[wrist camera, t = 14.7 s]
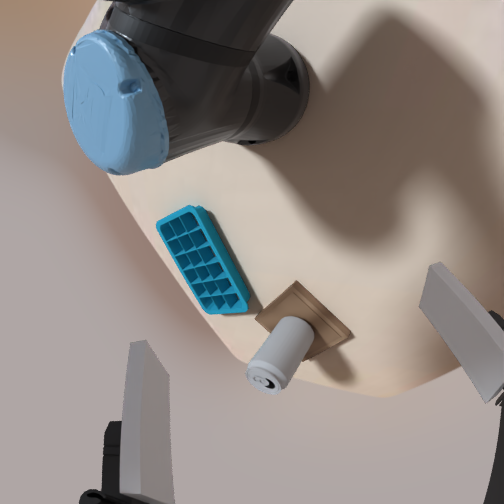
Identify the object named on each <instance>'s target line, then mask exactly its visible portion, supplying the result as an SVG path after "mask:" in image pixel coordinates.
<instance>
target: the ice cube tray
mask: <svg viewBox="0 0 504 504" xmlns="http://www.w3.org/2000/svg"><path fill="white" fill-rule="evenodd" d="M191 213H192V214H193V215H194V216H195V218H196V220H197V221H198V223H199V226H198V225H197V223H196V221H195V219H194V217H193V216H192V214H191ZM156 228H157V231H158V232H159V234H160V236H161V238H162V240H163V242H164V243H165V245H166V247H167V249H168V251H169V252H170V254H171V256H172V258H173V259H174V261H175V263H176V265H177V266H178V268H179V270H180V272H181V273H182V275H183V277H184V279H185V280H186V282H187V284H188V285H189V287H190V289H191V290H192V292H193V294H194V295H195V297H196V299H197V300H198V302H199V304H200V305H201V307H202V309H203V310H204V311H205V312H206V313H208V314H226V313H240V312H246V311H247V310H248V309H249V308H248V303H247V301H248V300H249V298H250V294H249V291H248V289H247V287H246V286H245V284H244V282H243V280H242V278H241V276H240V274H239V273H238V271H237V269H236V267H235V265H234V263H233V261H232V259H231V258H230V256H229V254H228V252H227V250H226V248H225V246H224V244H223V242H222V241H221V239H220V237H219V235H218V233H217V231H216V229H215V227H214V225H213V223H212V221H211V220H210V218H209V216H208V214H207V212H206V210H205V209H204V208H203V207H201V206H197V207H194V206H191V205H188V206H186V207H184V208H182V209H180V210H178V211H176V212H174V213H172V214H170V215H169V216H167V217H165V218H163V219H161V220H159V221H157V223H156ZM200 229H202V231H203V233H204V235H205V237H206V238H207V240H208V241H206V240H205V238H204V236H203V234H202V233H201V231H200ZM209 246H211V248H212V250H213V251H214V253H215V255H216V256H215V257H214V255H213V253H212V251H211V249H210V248H209ZM218 262H220V264H221V266H222V268H223V270H224V271H222V270H221V268H220V266H219V264H218ZM226 278H228V279H229V281H230V283H231V284H232V285H231V286H230V284H229V282H228V280H227V279H226ZM235 293H237V295H238V297H239V299H238V298H237V297H236V295H235Z"/></svg>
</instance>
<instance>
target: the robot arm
mask: <svg viewBox="0 0 504 504" xmlns="http://www.w3.org/2000/svg"><path fill="white" fill-rule="evenodd" d="M103 1H115V2H116V3H115V7H114V9H113V12H112V14H111V17H110V19H109V22H108V24H107V27H106V29H105V30H96V31H93V32H92V33H90V34H87V35H85V36H83V37H82V38H80V39H79V40H78V42H77V43H76V46H74V47H73V48H72V50H71V51H70V53H69V56H68V59H67V62H66V66H65V71H64V100H65V106H66V112H67V116H68V119H69V122H70V125H71V128H72V131H73V133H74V135H75V138H76V140H77V142H78V143H79V145H80V147H81V148H82V150H83V151H84V153H85V154H86V155H87V157H88V158H89V159H90V160H91V161H92V162H93V163H94V164H95V165H96V166H97V167H99V168H101V169H102V170H103V171H106V172H107V173H110V174H114V175H129V174H133V173H135V172H138V171H141V170H145V169H149V168H150V169H154V168H157V167H159V166H161V164H163V163H165V162H168V161H170V160H173V159H175V158H178V157H180V156H183V155H185V154H188V153H191V152H193V151H196V150H199V149H201V148H204V147H207V146H210V145H213V144H216V143H219V142H222V141H225V142H230V143H235V144H240V145H259V144H263V143H267V142H269V141H272V140H275V139H277V138H280V137H281V136H283V135H285V134H286V133H288V132H289V131H290V130H291V129H292V128H293V127H294V126H295V125H296V124H297V122H298V121H299V120H300V118H301V117H302V115H303V113H304V111H305V108H306V105H307V102H308V97H309V78H308V73H307V70H306V67H305V64H304V62H303V60H302V58H301V57H300V55H299V54H298V52H297V51H296V50H295V49H294V48H293V47H292V46H291V45H290V44H289V43H288V42H286V41H285V40H283V39H282V38H280V37H278V36H276V35H273V34H270V32H271V30H272V29H273V28H274V26H275V25H276V23H277V22H278V21H279V19H280V18H281V16H282V15H283V14H284V12H285V11H286V10H287V8H288V7H289V5H290V4H291V3H292V1H293V0H103ZM419 308H420V309H421V310H422V311H423V313H424V314H425V315H426V317H427V318H428V319H429V321H430V322H431V323H432V325H433V326H434V327H435V329H436V330H437V332H438V333H439V334H440V336H441V337H442V338H443V340H444V341H445V343H446V344H447V345H448V347H449V348H450V350H451V351H452V353H453V354H454V356H455V357H456V358H457V360H458V361H459V363H460V364H461V366H462V367H463V369H464V370H465V372H466V373H467V375H468V376H469V378H470V379H471V381H472V383H473V384H474V386H475V387H476V389H477V390H478V392H479V394H480V395H481V397H482V399H483V400H484V402H485V403H487V402H488V401H490V400H491V399H493V398H494V397H495V396H496V395H497V394H498V393H499V392H500V391H501V390H502V389H504V319H503V318H502V317H501V316H500V315H498V314H497V313H495V312H494V311H492V310H491V311H489V312H487V311H486V310H485V308H484V307H483V306H482V305H481V304H480V303H479V302H478V300H477V299H476V298H475V297H474V296H473V295H472V294H471V293H470V292H469V291H468V290H467V288H466V287H465V286H464V285H463V284H462V283H461V282H460V281H459V280H458V279H457V278H456V277H455V276H454V275H453V274H452V273H451V272H450V271H449V270H448V269H447V268H446V267H445V266H444V265H443V264H442V263H441V262H438V263H435V264H433V265H430V266H429V269H428V273H427V278H426V282H425V286H424V290H423V294H422V297H421V301H420V305H419ZM501 401H502V402H501ZM123 402H124V403H123V413H122V421H110V422H109V424H108V427H107V429H106V431H105V435H104V448H103V455H104V456H103V465H102V489H101V491H98V490H96V489H93V490H92V489H90V490H87V491H85V492H84V493H83V494H82V495H81V497H80V500H79V504H175V499H174V488H173V475H172V459H171V442H170V441H171V439H170V403H169V374H168V373H167V371H166V370H165V368H164V367H163V365H162V364H161V362H160V361H159V359H158V358H157V356H156V354H155V353H154V351H153V350H152V348H151V347H150V345H149V344H148V342H147V340H143V341H137V342H132V343H130V350H129V357H128V364H127V373H126V381H125V391H124V401H123ZM500 402H501V404H500V405H499V406H502V409H501V419H500V428H499V435H498V442H497V448H496V453H495V459H494V464H493V469H492V473H491V477H490V482H489V486H488V489H487V493H486V497H485V500H484V503H483V504H504V392H503V393H502V394H501V396H500V397H499V398H498V399H497V401H496V403H495V405H498V404H499V403H500Z"/></svg>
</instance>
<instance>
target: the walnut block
mask: <svg viewBox="0 0 504 504" xmlns="http://www.w3.org/2000/svg"><path fill="white" fill-rule="evenodd" d="M287 316H294V317H298V318H300V319H303V320H304V321H306V322H307V323H308V324H309V325H310V326H311V328H312V329H313V332H314V340H313V342H312V344H311V346H310V347H309V349H308V351H307V353H306V354H305V356H304V358H303V360H302V362H304V361H305V360H307V359H309V358H311V357H313V356H315V355H317V354H319V353H321V352H323V351H325V350H326V349H328V348H330V347H332V346H334V345H336V344H337V343H339V342H341V341H343V340H345V339H346V338H348V336H349V334H350V332H351V331H350V330H349V329H348V328H347V327H346V326H345V325H344V324H343V323H342V322H341V321H339V320H338V319H337V318H336V317H335V316H334V315H333V314H332V313H331V312H330V311H329V310H328V309H327V308H326V307H325V306H323V305H322V304H321V303H320V302H319V301H318V300H317V299H316V298H315V297H314V296H313V295H312V294H311V293H310V292H308V291H307V290H306V289H305V288H304V287H303V286H302V285H301V284H300V283H299V282H298V281H297V280H296V281H295V282H294V283H293V284H292V285H291V286H290V287H288V288H287V289H286V290H285V291H284V292H283V293H282V294H281V295H279V296H278V297H277V298H276V299H275V300H274V301H273V302H271V303H270V304H269V305H268V306H267V307H266V308H265V309H263V310H262V311H261V312H260V313H259V314H258V315H257V316H256V317H255V320H256V321H257V322H258V323H260V324H261V325H262V326H263V327H264V328H265V329H266V330H267V331H268V332H270V333H271V332H272V331H273V330H274V328H275V327H276V325H277V324H278V323H279V321H280V320H281V319H282V318H284V317H287Z"/></svg>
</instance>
